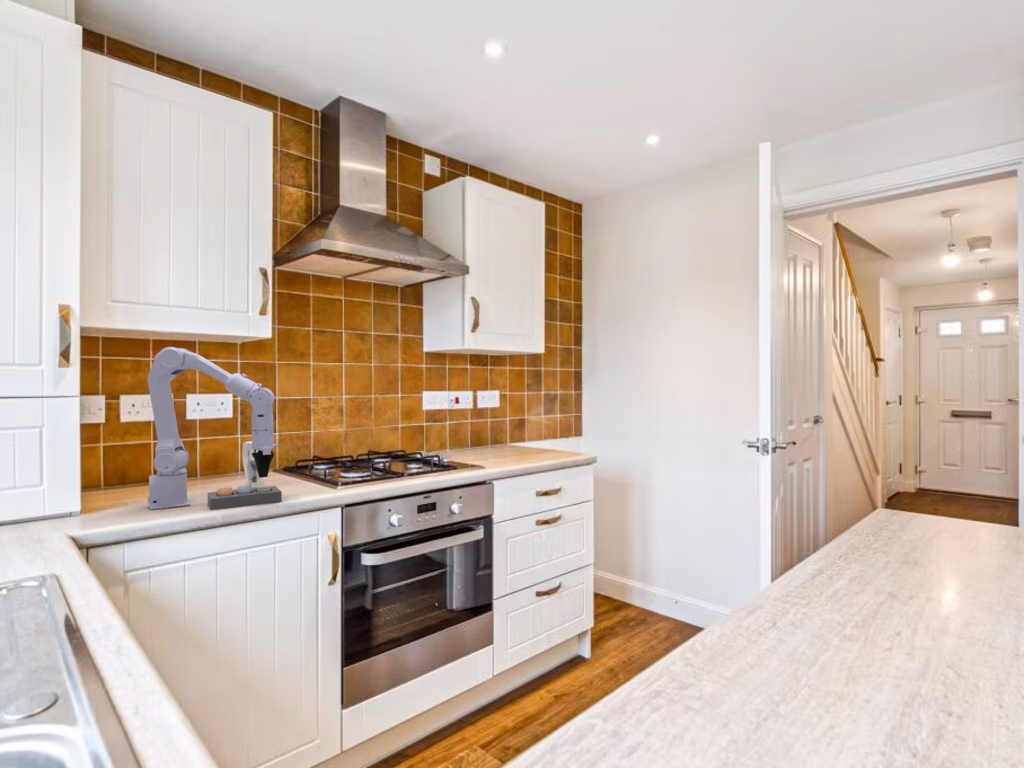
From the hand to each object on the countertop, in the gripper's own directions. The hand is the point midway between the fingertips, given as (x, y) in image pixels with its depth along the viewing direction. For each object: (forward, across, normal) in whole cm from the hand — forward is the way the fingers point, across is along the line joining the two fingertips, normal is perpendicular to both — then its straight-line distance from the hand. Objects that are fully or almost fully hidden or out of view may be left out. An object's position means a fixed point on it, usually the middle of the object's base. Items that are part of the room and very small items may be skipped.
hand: (263, 476), depth 168 cm
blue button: (+5, 0, +5) cm, 7 cm away
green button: (+6, 0, 0) cm, 6 cm away
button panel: (+7, 0, +5) cm, 8 cm away
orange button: (+5, 0, +10) cm, 11 cm away
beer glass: (+7, +20, -1) cm, 21 cm away
